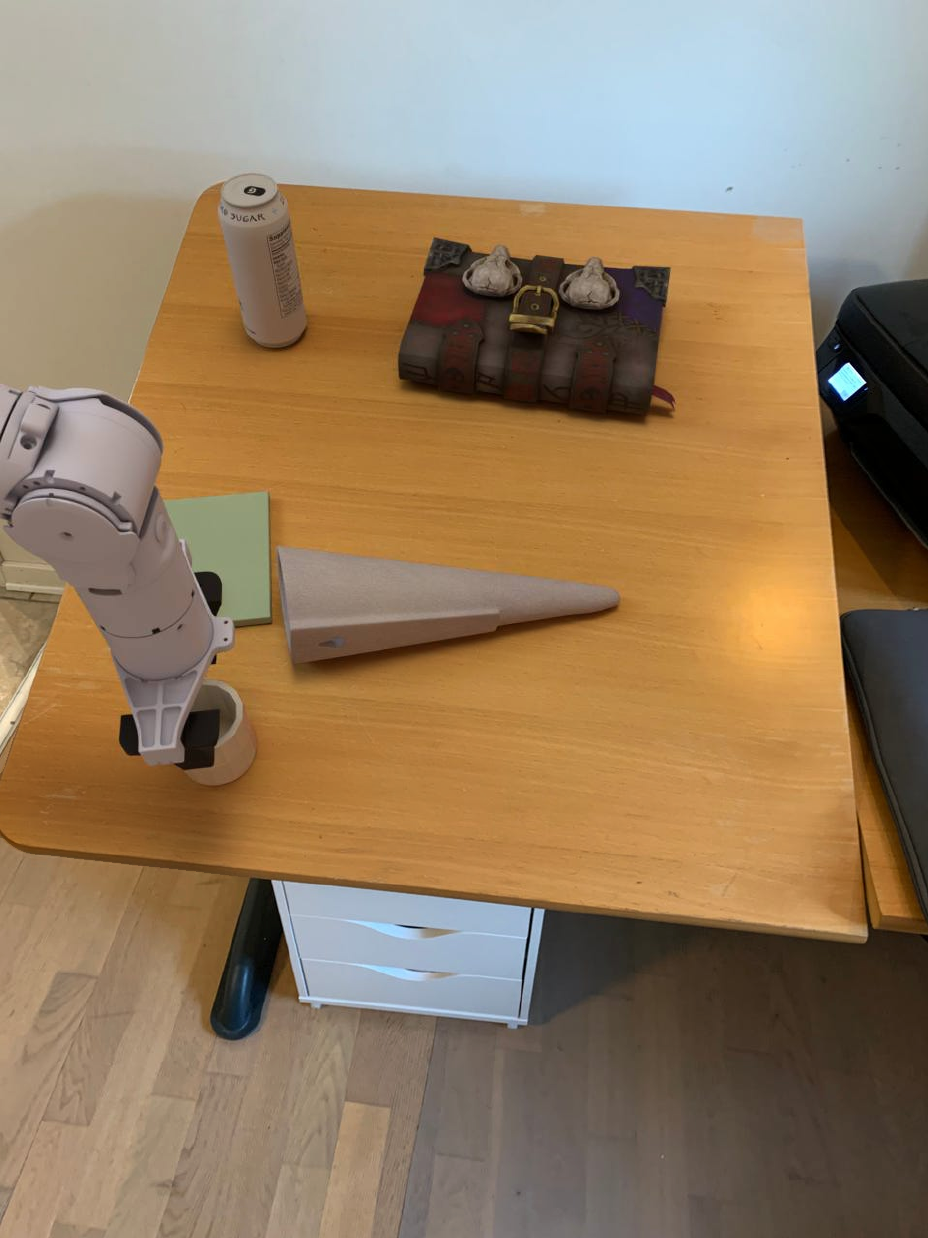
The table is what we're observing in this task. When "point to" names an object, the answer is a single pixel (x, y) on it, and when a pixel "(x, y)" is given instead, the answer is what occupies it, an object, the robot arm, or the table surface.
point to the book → (537, 329)
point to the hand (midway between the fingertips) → (199, 711)
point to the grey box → (409, 602)
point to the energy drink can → (262, 259)
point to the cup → (225, 734)
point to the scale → (230, 549)
